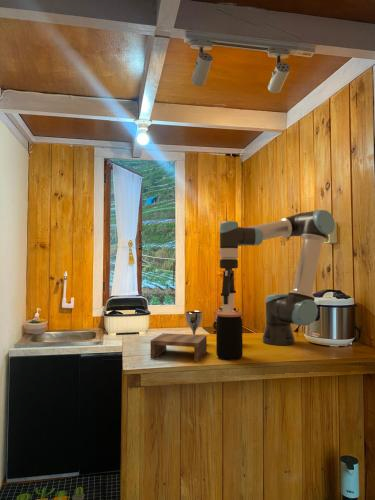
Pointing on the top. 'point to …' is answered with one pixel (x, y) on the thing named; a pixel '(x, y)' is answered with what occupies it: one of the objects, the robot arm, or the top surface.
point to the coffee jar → (229, 335)
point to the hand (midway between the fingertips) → (228, 310)
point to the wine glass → (194, 319)
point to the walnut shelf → (179, 343)
